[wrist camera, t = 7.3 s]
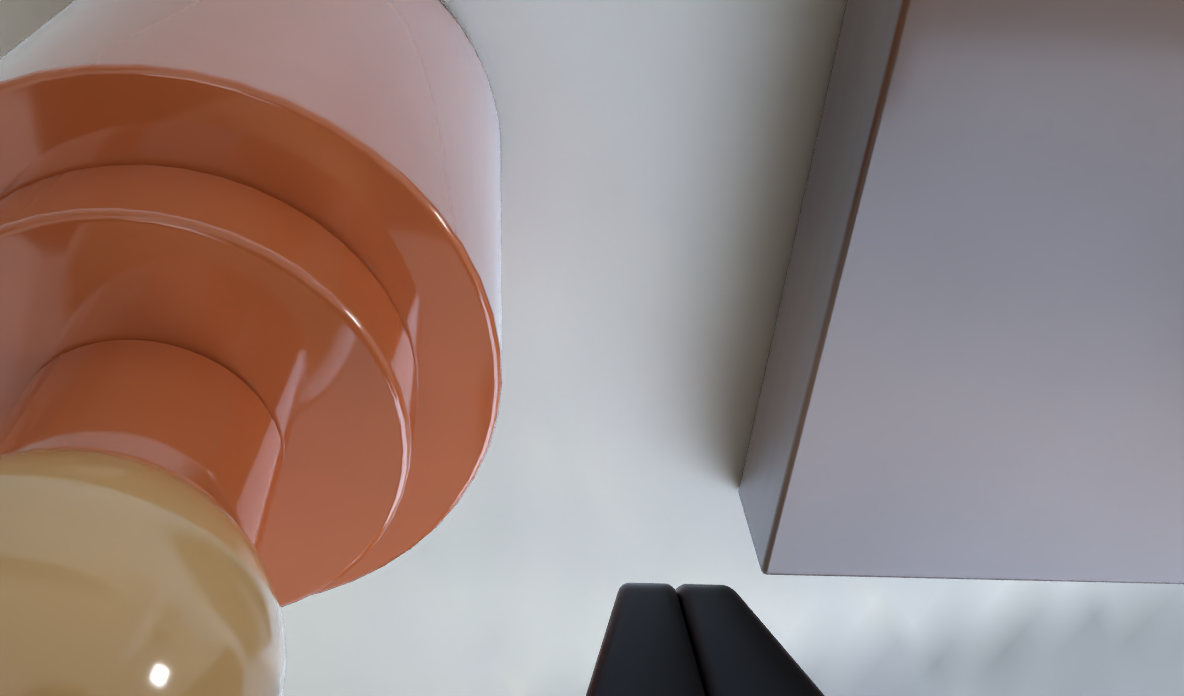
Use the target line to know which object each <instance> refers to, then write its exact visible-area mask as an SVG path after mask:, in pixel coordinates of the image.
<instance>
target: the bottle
mask: <svg viewBox="0 0 1184 696" xmlns="http://www.w3.org/2000/svg"><path fill="white" fill-rule="evenodd" d="M501 387H502V315H501V154H500V128H499V122H498V116H497V110H496V104H495V100H494V97H493V94H492V91H491V87H490V84H489V81H488V78H487V75H486V73H485V71H484V68H483V66H482V64H481V62H480V60H479V58H478V56H477V53H476V51H475V49H474V47H473V46H472V44H471V43H470V41H469V40H468V38H467V36H466V35H465V33H464V32H463V30H462V29H461V27H460V25H459V24H458V23H457V21H456V20H455V19H454V18H453V16H452V15H451V14H450V13H449V12H448V10H447V9H446V8H445V7H444V6H443V4H442V3H441V2H440V1H439V0H74V1H73V2H72V3H70V4H69V5H68V6H67V7H65V8H64V9H63V10H61V11H60V12H59V13H58V14H56V15H55V16H54V17H53V18H51V19H50V20H49V21H48V22H46V23H45V24H44V25H43V26H41V27H40V28H39V29H37V30H36V31H35V32H34V33H32V34H31V35H30V36H29V37H27V38H26V39H25V40H24V41H22V42H21V43H20V44H18V45H17V46H16V47H15V48H13V49H12V50H11V51H10V52H8V53H7V54H6V55H5V56H3V57H2V58H1V59H0V696H282V692H283V687H284V680H285V660H286V644H285V635H284V626H283V618H282V613H281V608H280V607H283V606H286V605H289V604H291V603H294V602H297V601H299V600H301V599H303V598H305V597H307V596H309V595H313V594H317V593H321V592H324V591H327V590H330V589H332V588H335V587H338V586H341V585H344V584H346V583H349V582H352V581H354V580H356V579H358V578H360V577H363V576H365V575H367V574H369V573H371V572H373V571H375V570H377V569H379V568H381V567H383V566H385V565H386V564H388V563H389V562H391V561H392V560H394V559H395V558H397V557H399V556H400V555H402V554H403V553H405V552H406V551H408V550H409V549H411V548H412V547H413V546H414V545H416V544H417V543H418V542H419V541H420V540H421V539H423V538H424V537H425V536H426V535H427V534H429V533H430V532H431V531H432V530H433V529H434V528H436V526H437V525H438V524H439V523H440V522H441V521H442V520H443V519H444V518H445V516H446V515H447V514H448V513H449V512H450V511H451V510H452V509H453V507H454V506H455V505H456V504H457V503H458V502H459V500H460V499H461V497H462V496H463V494H464V493H465V491H466V490H467V488H468V487H469V485H470V484H471V482H472V481H473V479H474V478H475V476H476V474H477V472H478V470H479V468H480V465H481V463H482V461H483V459H484V457H485V455H486V453H487V450H488V448H489V446H490V442H491V439H492V435H493V432H494V428H495V425H496V421H497V418H498V412H499V403H500V395H501Z"/></svg>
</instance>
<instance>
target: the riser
mask: <svg viewBox="0 0 1184 696" xmlns="http://www.w3.org/2000/svg"><path fill="white" fill-rule="evenodd" d="M739 495H740V499H741V502H742V506H743V509H744V513H745V516H746V519H747V523H748V526H749V530H750V533H751V537H752V540H753V543H754V547H755V550H756V554H757V557H758V561H759V564H760V567H761V571H762V572H763V573H764V574H770V575H814V576H858V577H902V578H946V579H990V580H1033V581H1077V582H1121V583H1165V584H1184V0H847V4H846V9H845V13H844V18H843V22H842V27H841V31H840V36H839V40H838V45H837V49H836V54H835V58H834V63H833V67H832V72H831V77H830V81H829V86H828V90H827V95H826V99H825V104H824V108H823V113H822V117H821V122H820V126H819V131H818V135H817V140H816V144H815V149H814V153H813V158H812V162H811V167H810V172H809V176H808V181H807V185H806V190H805V194H804V199H803V203H802V208H801V212H800V217H799V221H798V226H797V230H796V235H795V239H794V244H793V248H792V253H791V257H790V262H789V267H788V271H787V276H786V280H785V285H784V289H783V294H782V298H781V303H780V307H779V312H778V316H777V321H776V325H775V330H774V334H773V339H772V343H771V348H770V352H769V357H768V361H767V366H766V371H765V375H764V380H763V384H762V389H761V393H760V398H759V402H758V407H757V411H756V416H755V420H754V425H753V429H752V434H751V438H750V443H749V447H748V452H747V456H746V461H745V466H744V470H743V475H742V479H741V484H740V488H739Z"/></svg>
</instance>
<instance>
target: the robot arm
mask: <svg viewBox="0 0 1184 696" xmlns="http://www.w3.org/2000/svg"><path fill="white" fill-rule="evenodd" d="M586 696H824V695H823V693H822V692H821V691H820V690H819V689H818V687H817V686H816V685H815V684H814V683H813V682H812V680H811V679H810V678H809V677H808V676H807V675H806V673H805V672H804V671H803V670H802V669H801V668H800V666H799V665H798V664H797V663H796V662H795V661H794V659H793V658H792V657H791V656H790V655H789V654H788V652H787V651H786V650H785V649H784V648H783V646H782V645H781V644H780V643H779V642H778V641H777V639H776V638H775V637H774V636H773V635H772V634H771V632H770V631H769V630H768V629H767V628H766V627H765V625H764V624H763V623H762V622H761V621H760V620H759V618H758V617H757V616H756V615H755V614H754V613H753V611H752V610H751V609H750V608H749V607H748V606H747V604H746V603H745V602H744V601H743V600H742V598H741V597H740V596H739V595H738V594H737V593H736V592H735V591H734V590H733V589H731V588H730V587H728V586H725V585H702V584H684V585H681V586H679V587H678V588H677V589H676V590H675V589H674V588H673V587H672V586H670V585H669V584H657V583H625V584H624V585H622V586H621V587H620V589H619V591H618V594H617V597H616V600H615V603H614V607H613V610H612V613H611V616H610V619H609V623H608V626H607V629H606V632H605V636H604V639H603V642H602V645H601V649H600V652H599V655H598V658H597V662H596V665H595V668H594V671H593V675H592V678H591V681H590V684H589V687H588V691H587V694H586Z"/></svg>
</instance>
